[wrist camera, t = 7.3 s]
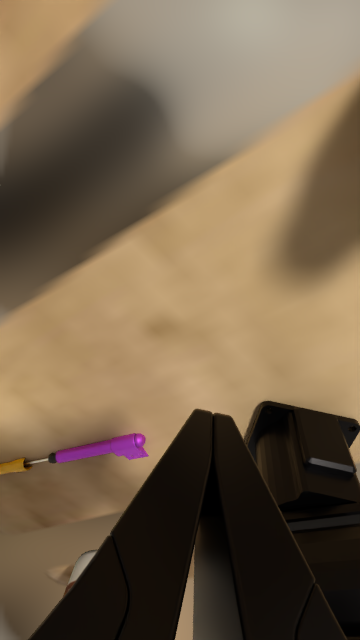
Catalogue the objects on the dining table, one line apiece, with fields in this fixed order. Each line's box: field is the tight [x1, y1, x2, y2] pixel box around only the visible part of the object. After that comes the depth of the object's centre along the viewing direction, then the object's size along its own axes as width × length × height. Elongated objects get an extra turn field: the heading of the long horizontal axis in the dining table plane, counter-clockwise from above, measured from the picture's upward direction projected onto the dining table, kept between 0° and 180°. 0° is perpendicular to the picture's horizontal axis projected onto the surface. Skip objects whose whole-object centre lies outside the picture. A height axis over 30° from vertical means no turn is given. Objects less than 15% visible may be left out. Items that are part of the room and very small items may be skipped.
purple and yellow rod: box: [0, 433, 148, 475], centre depth 28 cm, size 3×1×16 cm
